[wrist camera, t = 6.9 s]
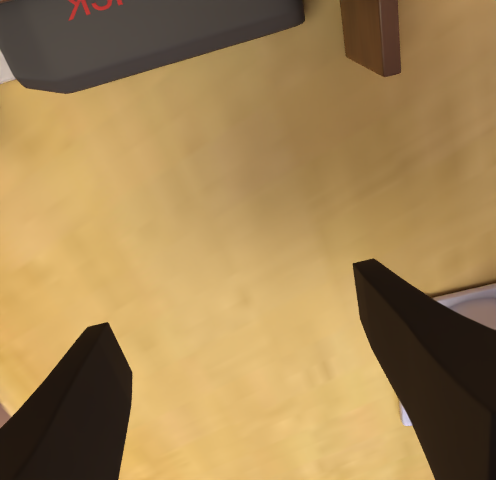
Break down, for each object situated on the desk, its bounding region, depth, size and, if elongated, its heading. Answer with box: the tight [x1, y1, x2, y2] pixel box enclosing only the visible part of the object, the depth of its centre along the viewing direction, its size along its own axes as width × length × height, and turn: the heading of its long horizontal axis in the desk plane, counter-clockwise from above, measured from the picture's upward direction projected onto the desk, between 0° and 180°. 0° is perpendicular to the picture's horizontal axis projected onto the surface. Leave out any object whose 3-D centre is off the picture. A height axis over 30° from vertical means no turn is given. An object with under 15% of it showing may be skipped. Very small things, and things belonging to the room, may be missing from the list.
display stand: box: [0, 0, 401, 77], centre depth 14 cm, size 8×17×6 cm, turn 102°
